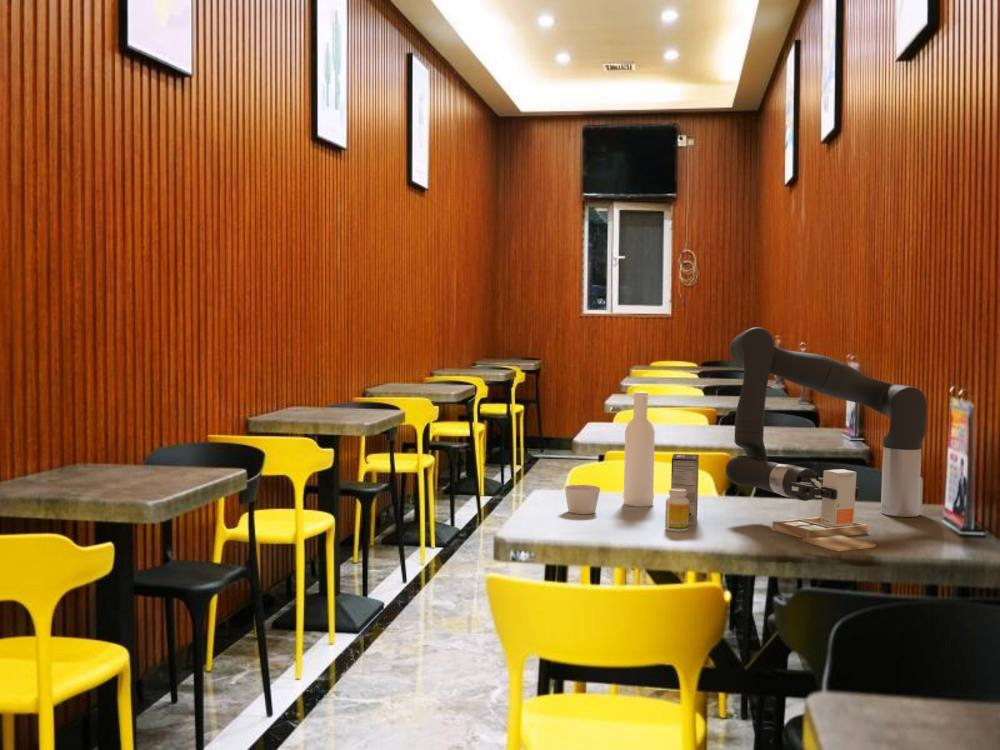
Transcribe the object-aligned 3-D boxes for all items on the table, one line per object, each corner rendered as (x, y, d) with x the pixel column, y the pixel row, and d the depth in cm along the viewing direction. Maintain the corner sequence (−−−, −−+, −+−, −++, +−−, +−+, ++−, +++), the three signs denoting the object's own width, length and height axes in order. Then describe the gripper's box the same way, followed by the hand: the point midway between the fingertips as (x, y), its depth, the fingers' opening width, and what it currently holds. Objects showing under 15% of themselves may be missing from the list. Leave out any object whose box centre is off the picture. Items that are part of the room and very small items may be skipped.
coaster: (838, 537, 236) (838, 534, 236) (875, 547, 226) (875, 544, 226) (801, 541, 231) (802, 538, 231) (838, 551, 221) (838, 548, 221)
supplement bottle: (660, 528, 243) (661, 488, 243) (679, 526, 245) (680, 486, 245) (674, 532, 238) (675, 491, 238) (693, 531, 241) (694, 490, 240)
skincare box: (834, 527, 225) (837, 472, 224) (820, 523, 229) (822, 470, 228) (854, 525, 228) (857, 471, 227) (840, 521, 232) (842, 468, 231)
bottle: (657, 503, 277) (659, 391, 276) (648, 507, 270) (650, 393, 268) (628, 500, 281) (631, 390, 279) (619, 505, 273) (621, 392, 272)
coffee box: (671, 517, 258) (672, 453, 257) (697, 518, 256) (698, 454, 256) (669, 524, 249) (671, 457, 248) (696, 525, 247) (698, 458, 247)
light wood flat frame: (829, 524, 251) (829, 516, 251) (867, 533, 241) (867, 525, 240) (772, 529, 243) (772, 521, 243) (808, 539, 233) (809, 531, 232)
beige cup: (606, 513, 262) (607, 488, 261) (578, 516, 257) (579, 491, 256) (584, 507, 269) (585, 483, 269) (557, 510, 264) (557, 486, 264)
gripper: (770, 467, 237) (823, 478, 222) (817, 464, 244) (872, 475, 229) (769, 499, 238) (821, 513, 223) (816, 496, 244) (870, 509, 229)
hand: (847, 494), depth 226 cm, fingers closed on skincare box, 6 cm apart
